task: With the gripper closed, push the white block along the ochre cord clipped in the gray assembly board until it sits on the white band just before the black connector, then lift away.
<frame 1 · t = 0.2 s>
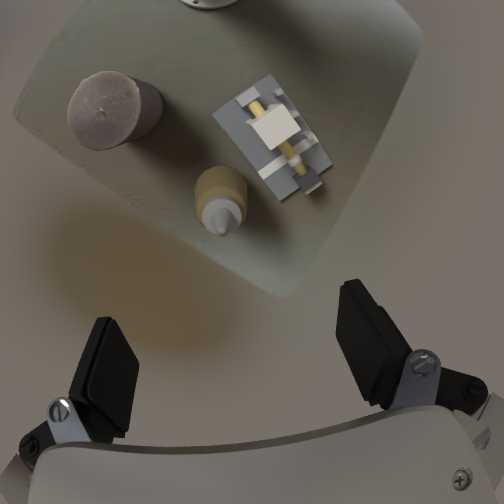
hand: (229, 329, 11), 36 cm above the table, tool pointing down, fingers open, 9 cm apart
white block: (270, 125, 35), point 6 cm above the table, slide at 0.0 cm
pillar candle: (134, 109, 37), on the table
gray assembly board: (274, 137, 42), on the table
squeeze bottle: (220, 184, 45), on the table
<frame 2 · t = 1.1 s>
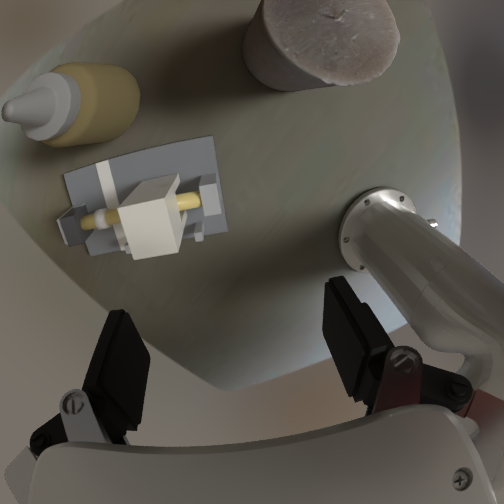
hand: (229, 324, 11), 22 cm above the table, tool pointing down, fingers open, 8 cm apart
white block: (157, 212, 25), point 6 cm above the table, slide at 0.0 cm
pillar candle: (286, 53, 24), on the table
gray assembly board: (143, 198, 30), on the table
squeeze bottle: (115, 103, 24), on the table
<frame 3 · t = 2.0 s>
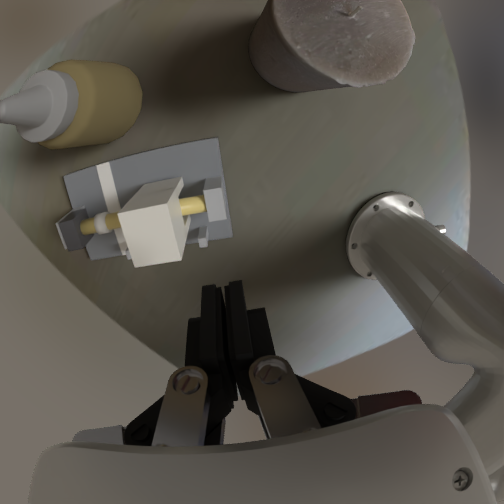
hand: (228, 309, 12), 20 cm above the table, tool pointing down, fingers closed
white block: (159, 217, 24), point 6 cm above the table, slide at 0.0 cm
pillar candle: (295, 52, 23), on the table
gray assembly board: (145, 201, 29), on the table
squeeze bottle: (116, 103, 23), on the table
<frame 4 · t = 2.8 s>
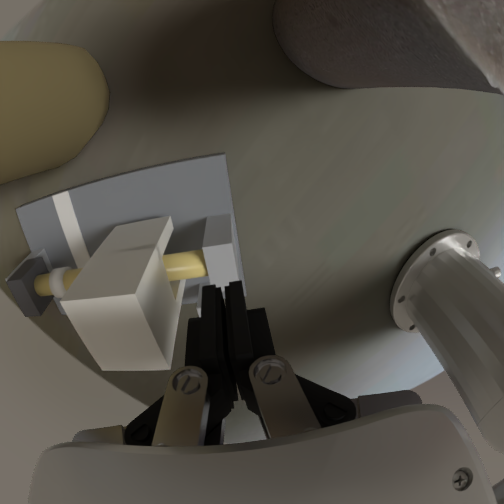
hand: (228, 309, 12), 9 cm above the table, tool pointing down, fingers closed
white block: (135, 287, 15), point 6 cm above the table, slide at 0.0 cm
pillar candle: (340, 31, 14), on the table
gray assembly board: (122, 245, 20), on the table
squeeze bottle: (77, 104, 15), on the table
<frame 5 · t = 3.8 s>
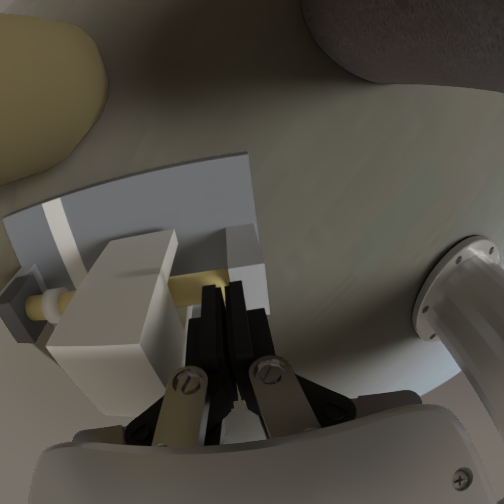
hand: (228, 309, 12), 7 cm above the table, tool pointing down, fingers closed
white block: (136, 317, 12), point 6 cm above the table, slide at 0.5 cm, touching gripper
pillar candle: (372, 20, 11), on the table
gray assembly board: (124, 259, 17), on the table
squeeze bottle: (70, 95, 12), on the table
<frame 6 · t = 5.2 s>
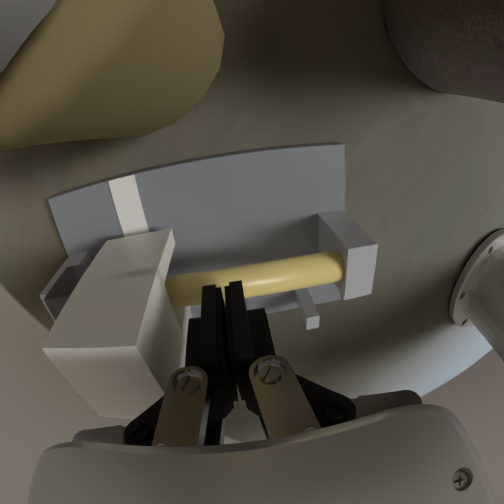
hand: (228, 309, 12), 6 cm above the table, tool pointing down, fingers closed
white block: (133, 317, 12), point 6 cm above the table, slide at 6.1 cm, touching gripper
pillar candle: (434, 36, 12), on the table
gray assembly board: (201, 246, 17), on the table
squeeze bottle: (150, 64, 12), on the table
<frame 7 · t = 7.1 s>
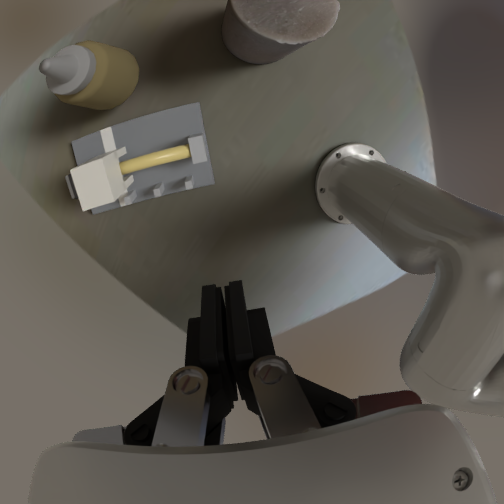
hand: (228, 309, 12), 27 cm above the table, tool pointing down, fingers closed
white block: (104, 175, 28), point 6 cm above the table, slide at 6.1 cm
pillar candle: (259, 33, 27), on the table
gray assembly board: (140, 158, 33), on the table
squeeze bottle: (117, 80, 28), on the table
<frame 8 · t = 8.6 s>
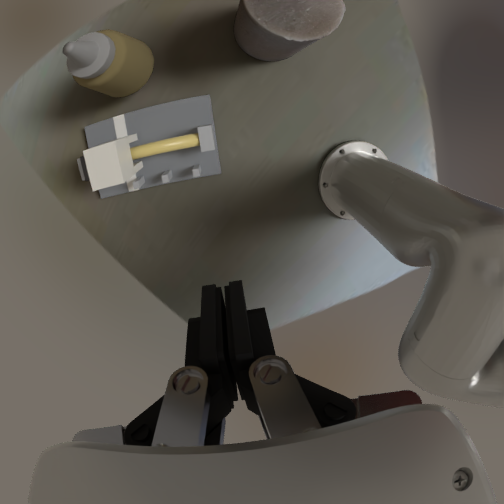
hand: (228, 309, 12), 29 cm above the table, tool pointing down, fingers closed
white block: (115, 159, 29), point 6 cm above the table, slide at 6.1 cm
pillar candle: (269, 32, 28), on the table
gray assembly board: (150, 146, 34), on the table
squeeze bottle: (131, 71, 29), on the table
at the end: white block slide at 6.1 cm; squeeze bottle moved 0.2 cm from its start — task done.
